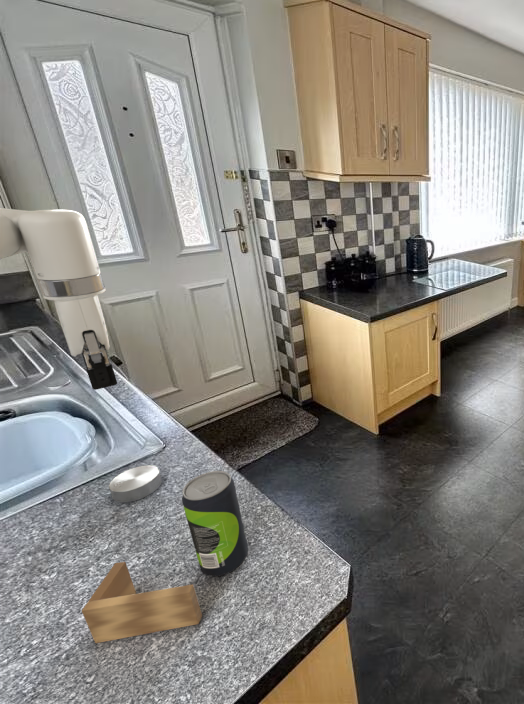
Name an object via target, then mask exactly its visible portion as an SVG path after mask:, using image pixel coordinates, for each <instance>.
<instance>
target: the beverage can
mask: <svg viewBox="0 0 524 704" xmlns="http://www.w3.org/2000/svg"><path fill="white" fill-rule="evenodd" d="M236 489H237V488H236V485H235V481H234V479H233V478H232V476H231V474H230V473H229V472H227V471H224V470H212V471H208V472H207V471H206V472H205V473H202V474H200V475H197V476H196V477H194V478H192V479H190V480H189V481H188V482H187V483H186V484H185V485H184V487H183V489H182V497H181V502H182V506H183V510H184V514H185V517H186V521H187V524H188V528H189V533H190V536H191V539H192V543H193V547H194V551H195V554H196V558H197V562H198V565H199V568H200V571H201V573H202V574H203V575H206V576H209V577H220V576H225V575H227V574H230V573H232V572H233V571H234V570H236V569H237V568H238V567H240V565H241V564H242V563H243V562H244V561H245V559H246V558H247V555H248V553H249V546H248V540H247V536H246V532H245V528H244V523H243V517H242V514H241V513H242V512H241V508H240V502H239V498H238V494H237V490H236Z"/></svg>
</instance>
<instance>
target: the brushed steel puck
mask: <svg viewBox="0 0 524 704" xmlns="http://www.w3.org/2000/svg"><path fill="white" fill-rule="evenodd" d="M162 483H163V480H162V476H161V473H160V469H159V467H157V466H155V465H148V464H147V465H140V466H135V467H132V468H130V469H127V470H125V471H123V472H121V473H119V474H118V475H116V476H115V477H114V478H113V479H112V480H111V481H110V482H109V484H108V489H109V491H110V496H111V497H112V498H111V499H112V500H113V501H114V502H116V503H122V504H123V503H125V504H126V503H131V502H135V501H139V500H141V499H144V498H147V497H148V496H149V495H152V494H153V493H154V492H155V491H157V490H158V489H159V488H160V487H161V485H162Z"/></svg>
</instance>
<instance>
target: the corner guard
mask: <svg viewBox="0 0 524 704" xmlns="http://www.w3.org/2000/svg"><path fill="white" fill-rule="evenodd" d="M132 579H133V578H132V576H131V574H130V571H129V568H128V565H127V563H126V561H121V562H120V561H119V562H115V563H114V564H113V565H112V567H111V568H110V569H109V571H108V572H107V574H106V575H105V577H104V578H103V580H101V582H100V583H99V586H97V588H96V589H95V591H94V592H93V594H92V595H91V597H90V598H89V599H88V601H87V603H86V604H85V605H84V607H83V608H82V610H81V613H82V616H83V618H84V620H85V623H86V626H87V627H88V630H89V632H90V634H91V637H92V640H93V641H94V643H95V644H100V643H104V642H111V641H117V640H120V639H121V640H122V639H126V638H131V637H137V636H142V635H147V634H152V633H158V632H163V631H169V630H173V629H180V628H185V627H189V626H190V627H191V626H196V625H199V624H200V622H201V619H202V618H203V613H202V610H201V607H200V602H199V599H198V596H197V593H196V588H195V585H194V584H187V585H180V586H174V587H169V588H163V589H156V590H151V591H145V592H138V593H137V591H136V588H135V586H134V582H133V580H132Z"/></svg>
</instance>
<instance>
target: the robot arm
mask: <svg viewBox="0 0 524 704" xmlns="http://www.w3.org/2000/svg"><path fill="white" fill-rule="evenodd" d="M94 247H95V246H94V244H93V240H92V237H91V233H90V230H89V227H88V224H87V221H86V218H85V217H84V216H83V214H82V213H80V212H78V211H76V210H71V209H34V210H24V209H14V208H5V207H0V260H2V259H4V258H9V257H12V256H16V255H19V254H24V253H27V254H28V257H29V259H30V262H31V265H32V268H33V270H34V275H35V277H36V279H37V282H38V285H39V288H40V292H41V294H42V298H43V299H44V300H47V301H53V302H54V307H55V310H56V314H57V317H58V320H59V323H60V326H61V329H62V332H63V335H64V338H65V341H66V344H67V347H68V350H69V353H70V356H72V357H74V358H75V357H78V355H81V356H82V359H83V362H84V364H85V370H86V373H87V377H88V379H89V383H90V386H91V388H92V390H94V391H97V390H101V389H104V388H108V387H114V386H116V385H118V380H117V377H116V373H115V370H114V368H113V363H111V362H110V359H109V356H108V353H107V351H108V350H110V347H111V346H110V342H109V341H110V340H109V334H108V330H107V325H106V324H107V323H106V321H105V317H104V313H103V310H102V305H101V302H100V299H99V295H101V294H104V293H105V292H106V291H107V289H106V286H105V282H104V279H103V276H102V272H101V270H100V265H99V261H98V259H97V254H96V252H95V248H94Z"/></svg>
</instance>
